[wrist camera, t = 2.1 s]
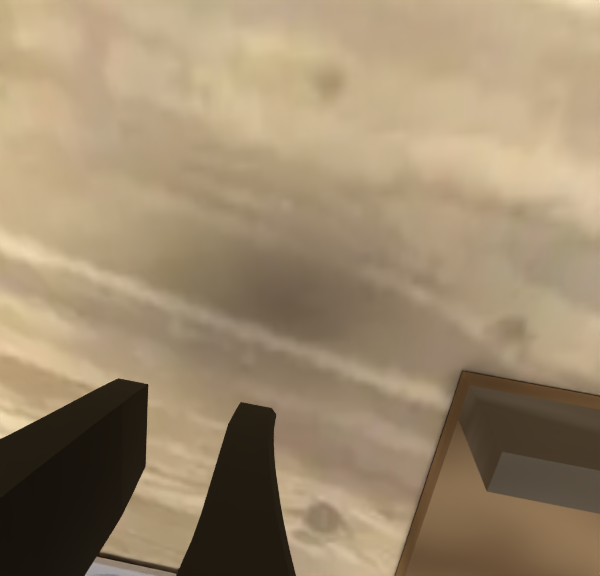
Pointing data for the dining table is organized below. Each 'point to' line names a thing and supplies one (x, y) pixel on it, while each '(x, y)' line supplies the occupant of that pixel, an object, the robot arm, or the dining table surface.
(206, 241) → the dining table surface
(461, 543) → the sliding board
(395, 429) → the dining table surface
